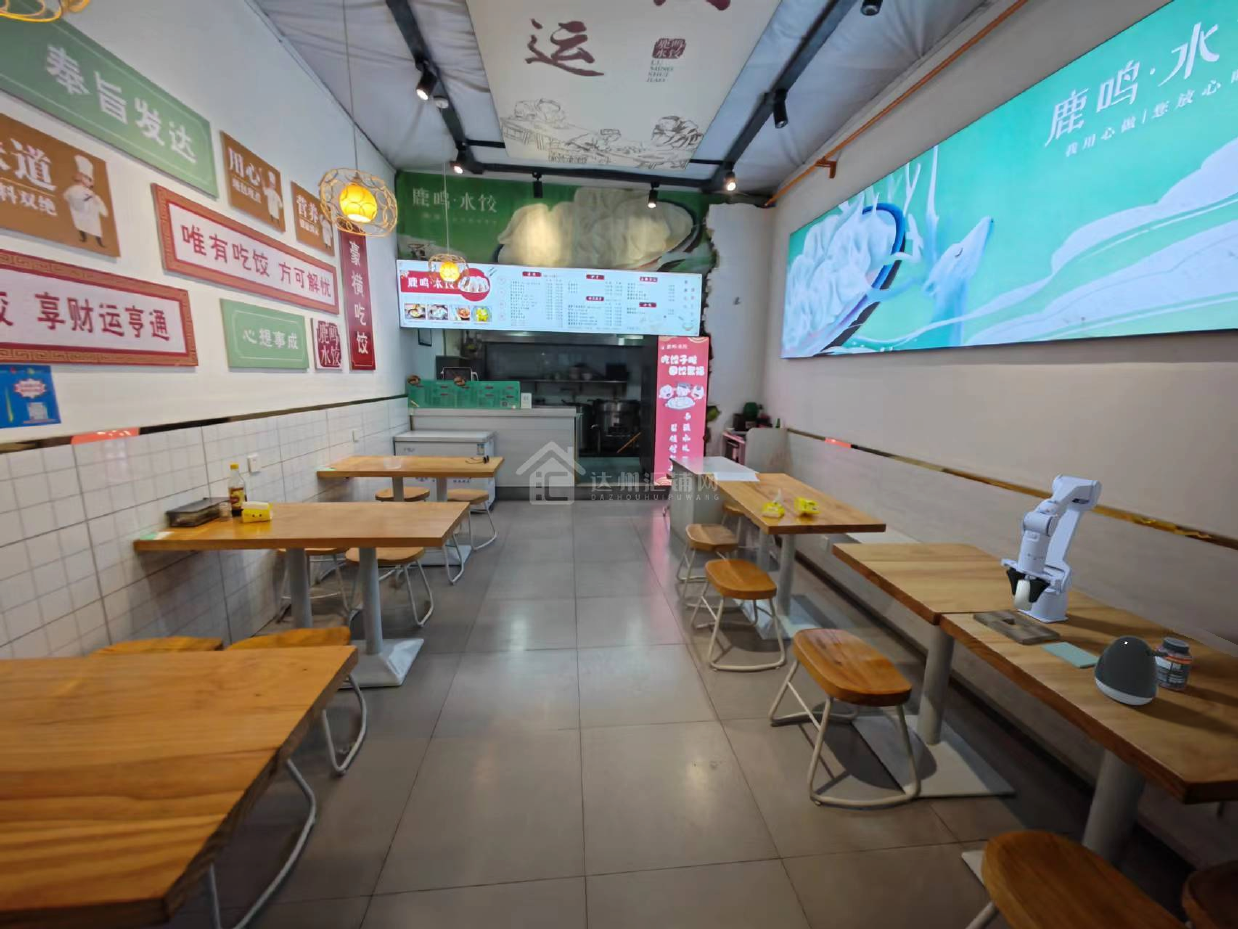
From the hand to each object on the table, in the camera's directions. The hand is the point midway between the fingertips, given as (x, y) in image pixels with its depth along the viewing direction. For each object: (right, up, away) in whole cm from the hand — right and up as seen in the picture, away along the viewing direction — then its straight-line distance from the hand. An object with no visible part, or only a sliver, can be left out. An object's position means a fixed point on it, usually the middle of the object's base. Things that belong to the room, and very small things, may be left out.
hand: (1024, 598), depth 136 cm
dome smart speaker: (0, -16, -26) cm, 31 cm away
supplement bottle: (+16, -15, -21) cm, 31 cm away
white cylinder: (0, -3, +1) cm, 3 cm away
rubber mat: (+4, -12, -10) cm, 16 cm away
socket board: (0, -10, +3) cm, 10 cm away
